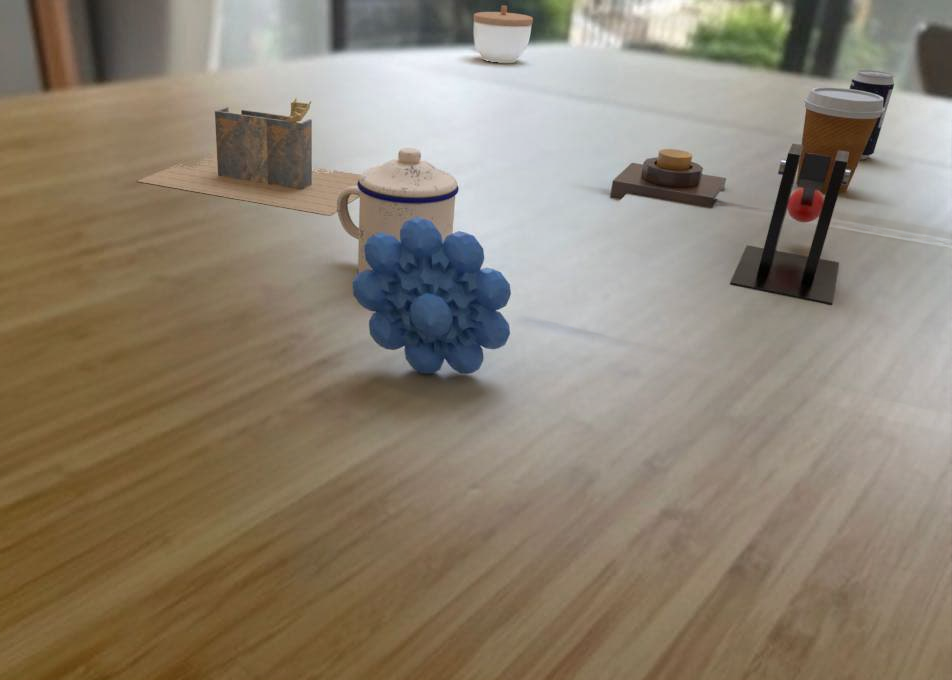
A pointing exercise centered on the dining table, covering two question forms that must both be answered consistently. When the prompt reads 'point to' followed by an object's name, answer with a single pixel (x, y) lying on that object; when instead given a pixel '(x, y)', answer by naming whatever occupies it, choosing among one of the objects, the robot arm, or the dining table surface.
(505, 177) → the dining table surface
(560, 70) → the dining table surface
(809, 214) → the power lever
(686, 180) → the brown lamp base
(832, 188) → the stand
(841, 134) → the disposable coffee cup
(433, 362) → the blue flower ornament
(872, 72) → the beverage can
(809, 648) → the dining table surface
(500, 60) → the lidded bowl
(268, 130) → the architectural model on board
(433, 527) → the dining table surface
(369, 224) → the teacup with lid
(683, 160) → the button
